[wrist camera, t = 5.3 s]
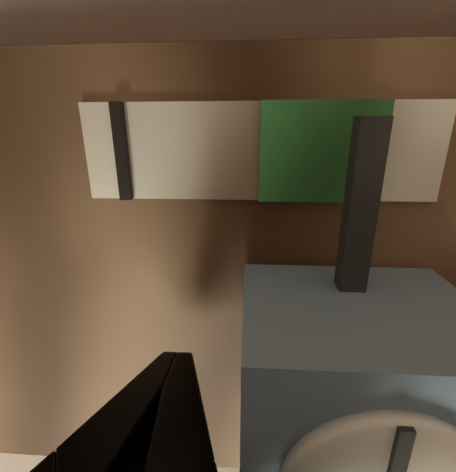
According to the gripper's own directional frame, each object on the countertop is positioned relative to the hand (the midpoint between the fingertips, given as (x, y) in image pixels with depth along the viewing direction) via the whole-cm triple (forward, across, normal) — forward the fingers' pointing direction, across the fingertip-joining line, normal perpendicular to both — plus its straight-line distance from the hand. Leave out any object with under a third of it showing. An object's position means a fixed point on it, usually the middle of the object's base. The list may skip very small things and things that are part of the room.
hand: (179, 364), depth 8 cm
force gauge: (+1, -5, -2) cm, 6 cm away
